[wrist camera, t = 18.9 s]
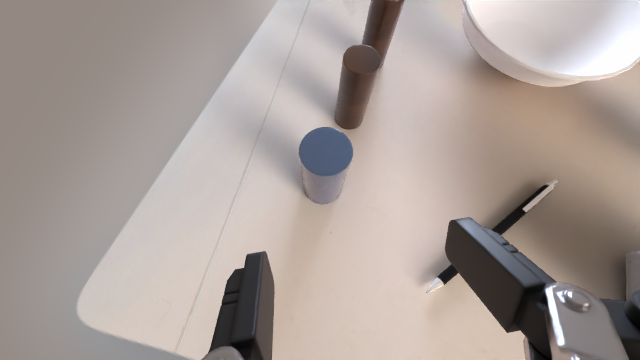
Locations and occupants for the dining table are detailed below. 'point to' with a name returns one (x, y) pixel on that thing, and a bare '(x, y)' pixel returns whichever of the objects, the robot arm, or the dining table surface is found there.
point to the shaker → (324, 163)
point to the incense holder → (632, 273)
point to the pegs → (365, 62)
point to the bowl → (555, 38)
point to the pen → (499, 229)
